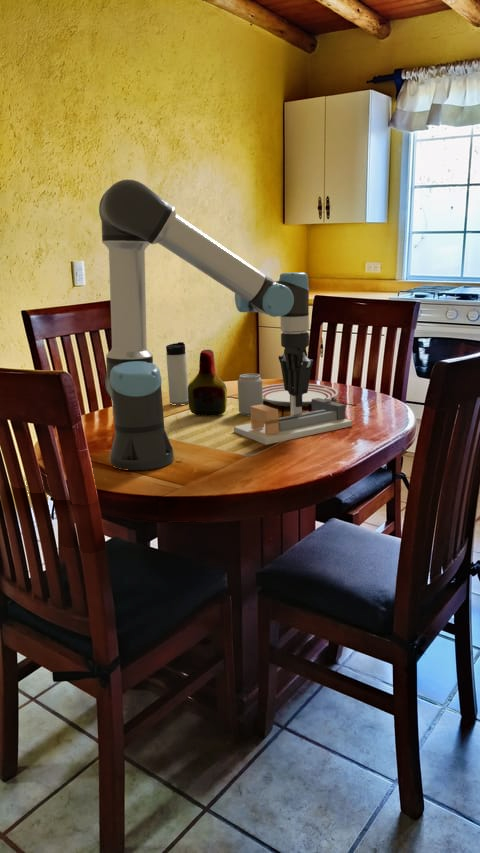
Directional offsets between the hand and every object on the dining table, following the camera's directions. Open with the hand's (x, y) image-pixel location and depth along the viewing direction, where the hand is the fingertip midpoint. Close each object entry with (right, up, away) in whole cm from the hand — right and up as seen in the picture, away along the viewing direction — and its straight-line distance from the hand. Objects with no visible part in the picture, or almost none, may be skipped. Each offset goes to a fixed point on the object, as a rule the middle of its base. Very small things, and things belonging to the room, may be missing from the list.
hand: (296, 417), depth 184 cm
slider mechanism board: (-1, -3, 0) cm, 3 cm away
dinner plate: (+3, +6, +35) cm, 36 cm away
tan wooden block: (-9, -4, -7) cm, 12 cm away
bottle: (-25, +1, +20) cm, 32 cm away
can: (-12, +1, +20) cm, 23 cm away
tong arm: (+1, -2, -1) cm, 2 cm away
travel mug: (-36, +5, +37) cm, 51 cm away
